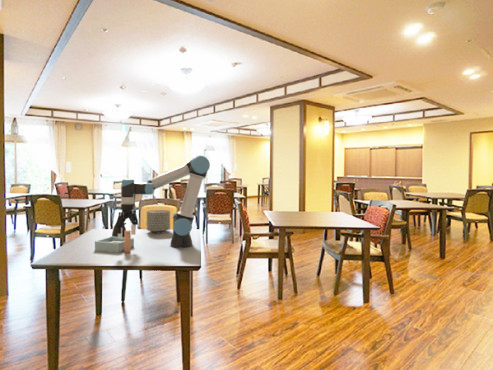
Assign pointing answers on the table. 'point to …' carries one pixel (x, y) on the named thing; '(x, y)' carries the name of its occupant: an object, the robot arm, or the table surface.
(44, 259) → the table surface
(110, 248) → the box
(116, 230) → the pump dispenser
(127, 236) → the peg
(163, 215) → the planter
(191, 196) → the robot arm
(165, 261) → the table surface
